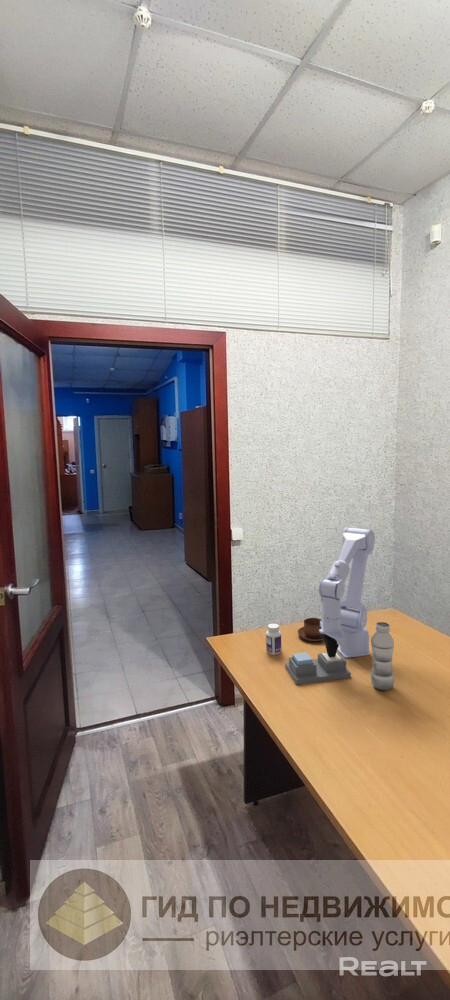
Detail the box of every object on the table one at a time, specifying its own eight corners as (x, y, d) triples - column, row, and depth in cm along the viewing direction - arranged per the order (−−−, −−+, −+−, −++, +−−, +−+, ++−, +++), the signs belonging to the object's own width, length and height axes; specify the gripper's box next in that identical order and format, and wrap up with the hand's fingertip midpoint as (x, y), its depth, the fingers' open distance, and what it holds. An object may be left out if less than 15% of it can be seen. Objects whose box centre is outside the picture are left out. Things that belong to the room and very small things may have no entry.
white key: (335, 660, 148) (335, 651, 147) (341, 667, 143) (341, 658, 143) (321, 661, 147) (321, 653, 147) (327, 669, 142) (327, 660, 142)
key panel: (335, 660, 151) (336, 648, 151) (350, 677, 141) (350, 663, 140) (285, 667, 148) (285, 654, 148) (296, 684, 137) (296, 671, 137)
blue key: (306, 660, 146) (306, 652, 145) (312, 668, 141) (312, 659, 141) (292, 662, 145) (292, 654, 145) (297, 670, 140) (297, 661, 140)
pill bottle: (281, 648, 162) (280, 622, 160) (281, 655, 156) (281, 629, 155) (266, 647, 162) (265, 622, 161) (266, 655, 157) (265, 628, 156)
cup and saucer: (293, 632, 175) (293, 617, 174) (322, 628, 177) (322, 614, 176) (304, 645, 163) (304, 629, 162) (335, 642, 165) (335, 626, 164)
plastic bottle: (395, 694, 131) (397, 629, 128) (371, 692, 132) (372, 628, 129) (392, 682, 137) (393, 620, 134) (369, 680, 138) (369, 619, 136)
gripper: (311, 609, 149) (311, 647, 151) (329, 626, 135) (329, 668, 137) (331, 607, 150) (331, 645, 152) (350, 624, 136) (350, 665, 138)
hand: (331, 656), depth 145 cm, fingers closed, pressing on white key
